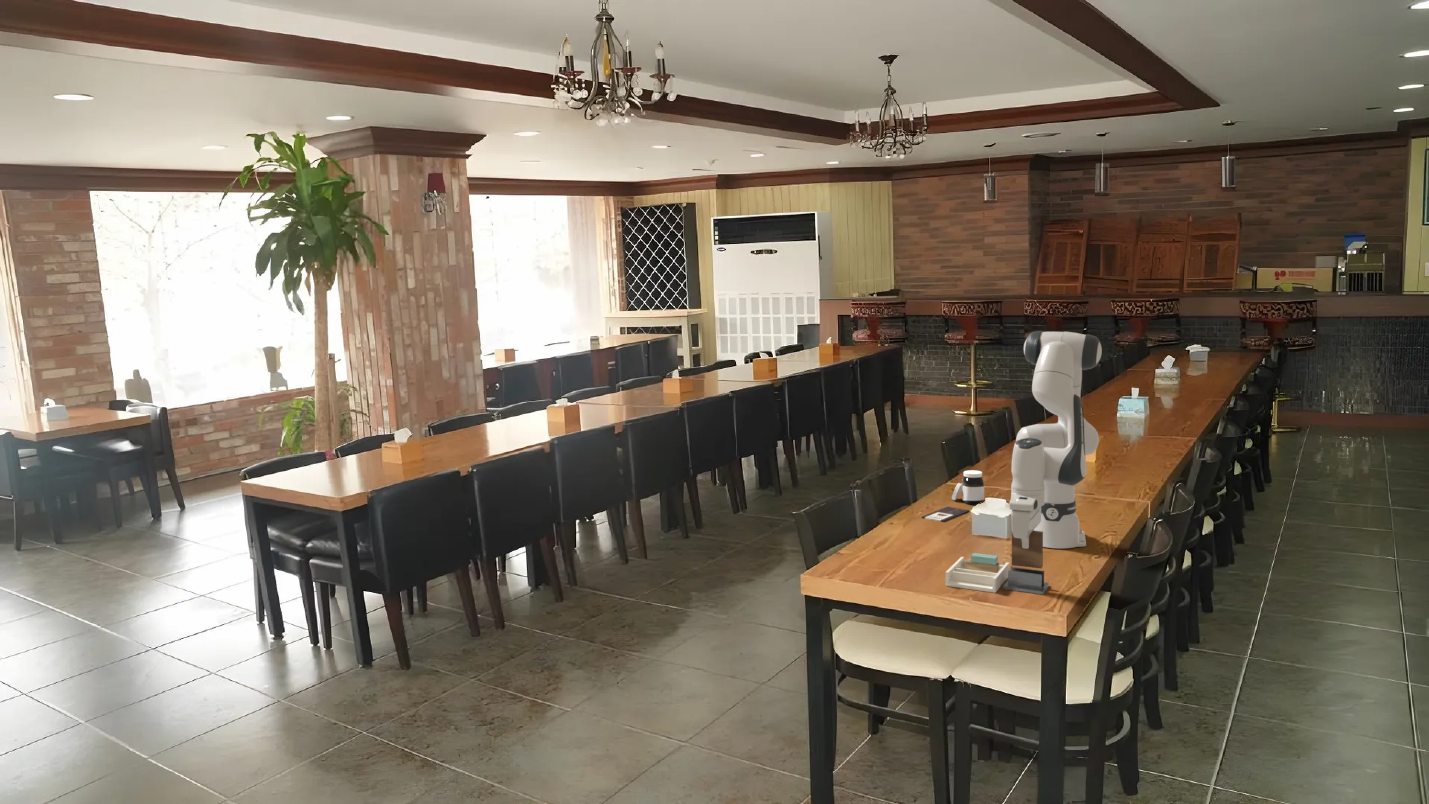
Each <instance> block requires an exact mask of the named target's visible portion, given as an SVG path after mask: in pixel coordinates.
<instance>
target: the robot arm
mask: <svg viewBox="0 0 1429 804" xmlns="http://www.w3.org/2000/svg"><path fill="white" fill-rule="evenodd" d="M1102 349H1103V347H1102V344H1101V341H1100V339H1099V338H1098V337H1097V336H1095V335H1092V334H1089V333H1087V334H1082V333H1079V332H1074V331H1073V332H1071V331H1043V330H1036V331H1032V332H1031V333H1029V334H1028V335H1027V337H1026V339H1025V341H1024V343H1023V354H1024V359H1025V361H1026V362H1028V363H1029V364H1031V365H1033V366H1035V368H1034V370H1033V371H1034V373H1033V377H1032V383H1031V384H1032V385H1031V392H1032V395H1033V397H1034V399H1035V401H1037V402H1038V403H1039V404H1040V405H1041V406H1043V407H1044V408H1045V410H1047V411H1048V413H1051V414H1053V415H1055V416H1057V419H1058V420H1057V422H1055V423H1036V424H1032V425H1027V426H1023V427H1021V428H1020V430H1019V431H1018V432H1017V434H1016V439H1015V442H1014V444H1013V445H1014V446H1013V449H1012V456H1011V470H1010V471H1011V475H1012V482H1011V485H1010V486H1011V487H1010V493H1011V494H1010V501H1009V503H1008V507H1009V508H1008V509H1009V510H1011V517H1010V518H1011V534H1012V533H1013V536H1014V538H1020V539H1021V540H1022V548H1026V549H1028V548H1029V547H1030V541H1029V536H1030V534H1031V533H1032V531H1042V532H1043V548H1050V549H1071V548H1077V547H1078V548H1079V547H1081V548H1082V547H1083V548H1084V547H1087V541H1086V540H1087V539H1086V534H1085V533H1086V532H1085V531H1083V530H1082V529H1080V519H1079V517H1078V515H1077V513H1076V512H1077V501H1076V500H1075V499H1076V497H1075V494H1076V493H1075V492H1076V489H1075V486H1076V485H1077V484H1079V483H1080V482H1082V481H1083V480H1084V479H1086V474H1087V470H1088V469H1087V468H1088V466H1087V460H1086V459H1087V458H1086V456H1088V455H1092V454H1094V453H1095V452H1096V451H1097V448H1098V446H1099V444H1100V436H1099V433H1098V430H1097V429H1096V428H1095V427H1094V426H1093V425H1092V424H1091V423H1090V422H1088V421H1087V420H1086V418H1085V417H1084V408H1083V402H1082V399H1081V396H1082V395H1081V394H1082V391H1081V390H1082V381H1083V371H1087V370H1091V369H1093V368H1095V367H1097V365H1098V363H1099V361H1100V360H1101V357H1102V352H1103V351H1102Z"/></svg>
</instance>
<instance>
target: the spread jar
mask: <svg viewBox="0 0 1429 804" xmlns="http://www.w3.org/2000/svg"><path fill="white" fill-rule="evenodd" d="M983 478H984V477H983V472H982V471H981V470H974V469H971V470H964V471H963V477H962V479H961V482H958V483H957V484H956V486H955V488H954V490H953V493H952V496H951V500H953V501H956V500H957V499H958V497H959V495H960V492H961V500H962V502H963V503H964V504H967V505H979V504H978V503H980V502H982V501H983V502H984V501H985V482H984V479H983Z"/></svg>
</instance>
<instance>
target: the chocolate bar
mask: <svg viewBox="0 0 1429 804" xmlns="http://www.w3.org/2000/svg"><path fill="white" fill-rule="evenodd" d="M969 512H970V510H969V509H962V508H957V507H952V506H951V507H950V506H946V507H944V508H941V509H937V510H936V511H933V512H930V513H927V514H926V515H925V514H924V515H923V516H921V519H923V520H930V521H936V522H941V523H945V522H948V521H950V520H952V519H956V518H957V517H961V516H963V515H965V514H967V513H969Z"/></svg>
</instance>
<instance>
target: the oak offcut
mask: <svg viewBox="0 0 1429 804" xmlns="http://www.w3.org/2000/svg"><path fill="white" fill-rule="evenodd" d="M999 565H1000V563H999V562H998V563H997V564H996V565H988V564H980V563H973V562H971V558H968V559H967V560H966V569H969V570H976V571H984V572H991V573H998V572H999Z"/></svg>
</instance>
